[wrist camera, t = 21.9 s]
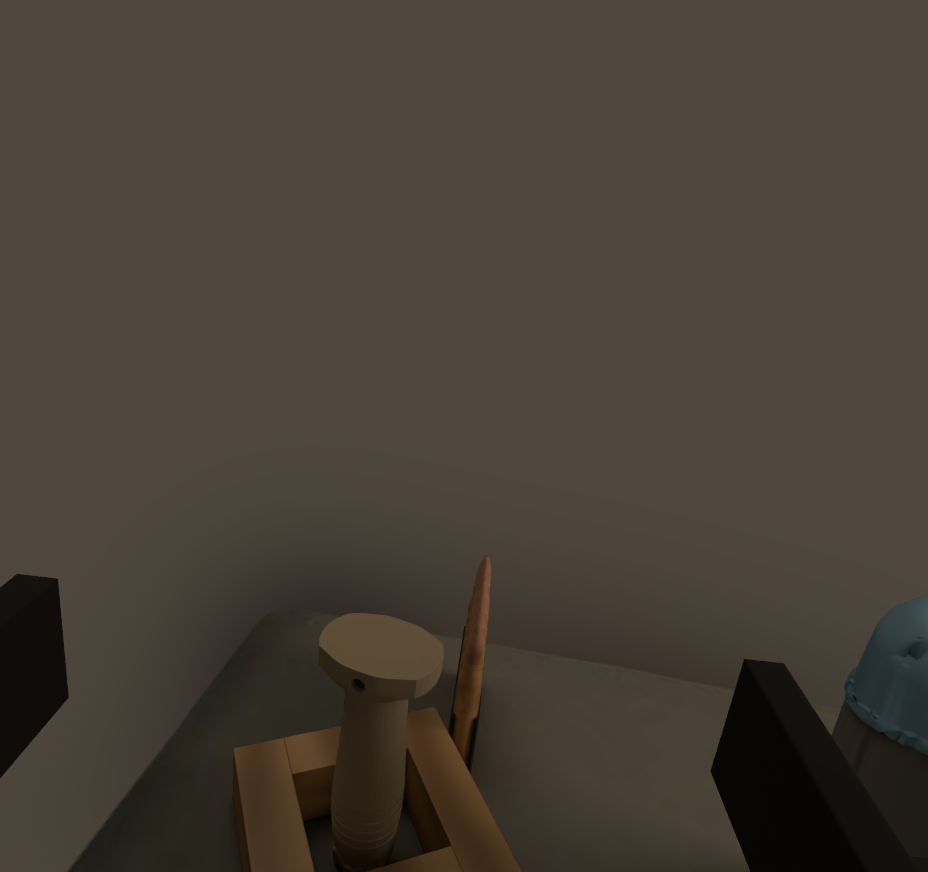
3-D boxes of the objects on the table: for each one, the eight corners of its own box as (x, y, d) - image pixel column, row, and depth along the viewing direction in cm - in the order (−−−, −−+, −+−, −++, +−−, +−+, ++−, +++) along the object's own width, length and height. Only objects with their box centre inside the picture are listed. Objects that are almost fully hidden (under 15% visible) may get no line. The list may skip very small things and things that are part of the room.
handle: (334, 808, 42) (350, 603, 38) (428, 848, 41) (457, 638, 36) (290, 873, 38) (301, 650, 33) (392, 922, 36) (420, 693, 31)
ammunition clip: (468, 783, 46) (492, 632, 42) (441, 778, 46) (463, 628, 42) (479, 679, 56) (499, 551, 52) (457, 676, 56) (475, 547, 52)
